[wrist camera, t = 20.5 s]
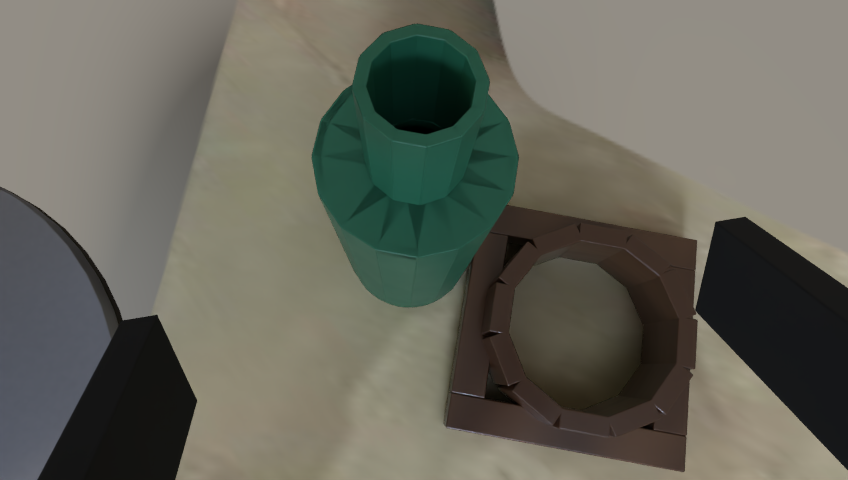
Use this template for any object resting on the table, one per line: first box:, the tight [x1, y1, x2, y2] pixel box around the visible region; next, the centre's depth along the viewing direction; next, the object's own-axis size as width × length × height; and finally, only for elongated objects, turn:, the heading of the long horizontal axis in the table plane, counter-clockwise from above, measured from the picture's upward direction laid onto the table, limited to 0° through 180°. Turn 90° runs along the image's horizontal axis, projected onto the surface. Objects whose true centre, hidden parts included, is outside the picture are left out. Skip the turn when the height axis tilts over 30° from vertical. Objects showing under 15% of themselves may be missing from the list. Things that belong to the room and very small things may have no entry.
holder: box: [444, 205, 698, 472], centre depth 28 cm, size 13×13×4 cm
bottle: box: [312, 24, 519, 307], centre depth 22 cm, size 7×7×18 cm
